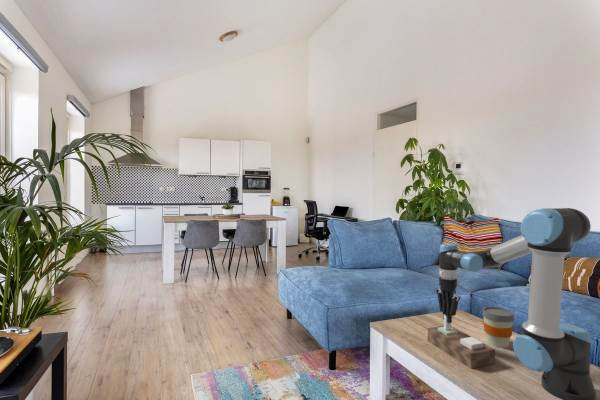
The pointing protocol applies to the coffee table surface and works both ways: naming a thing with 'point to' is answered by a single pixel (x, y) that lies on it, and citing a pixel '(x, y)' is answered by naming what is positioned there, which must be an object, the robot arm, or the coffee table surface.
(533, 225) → the robot arm
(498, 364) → the coffee table surface
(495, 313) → the reusable coffee cup
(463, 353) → the key panel
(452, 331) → the sage key
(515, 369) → the coffee table surface
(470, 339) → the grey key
